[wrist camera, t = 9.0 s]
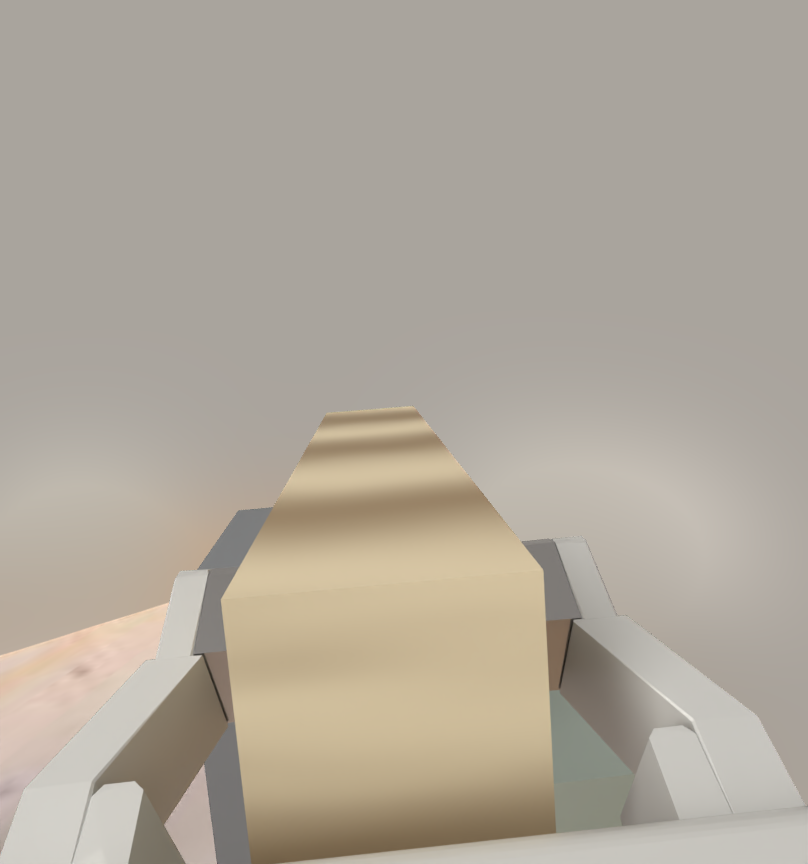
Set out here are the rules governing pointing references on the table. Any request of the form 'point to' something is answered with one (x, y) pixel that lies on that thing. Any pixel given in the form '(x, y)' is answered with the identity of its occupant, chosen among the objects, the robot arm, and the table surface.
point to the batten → (387, 655)
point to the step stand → (571, 736)
